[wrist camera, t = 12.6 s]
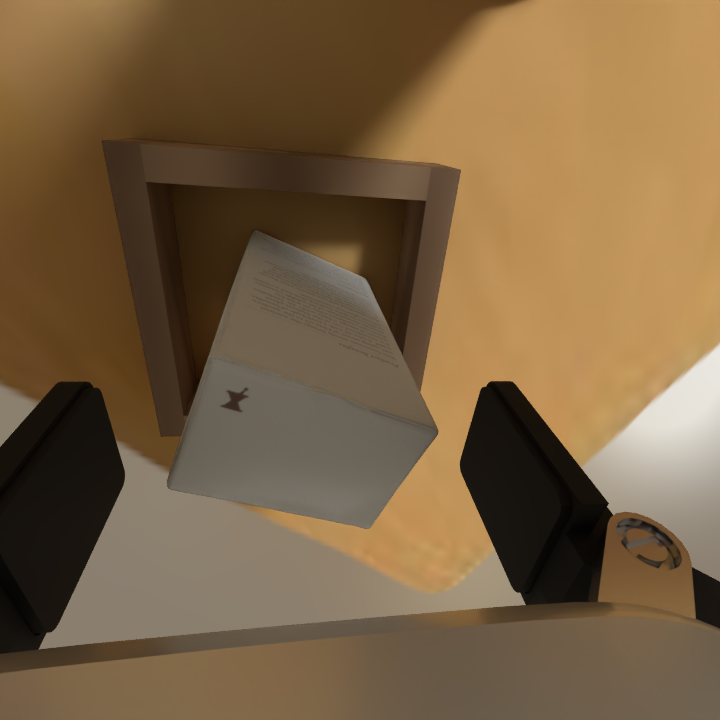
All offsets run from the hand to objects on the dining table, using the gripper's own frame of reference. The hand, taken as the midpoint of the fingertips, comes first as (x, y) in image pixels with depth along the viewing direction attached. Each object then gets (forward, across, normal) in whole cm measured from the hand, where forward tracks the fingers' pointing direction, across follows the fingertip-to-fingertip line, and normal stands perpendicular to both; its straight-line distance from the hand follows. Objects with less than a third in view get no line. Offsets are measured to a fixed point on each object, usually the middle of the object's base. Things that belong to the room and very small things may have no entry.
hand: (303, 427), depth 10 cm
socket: (+11, 0, +1) cm, 11 cm away
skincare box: (+12, 0, +1) cm, 12 cm away
